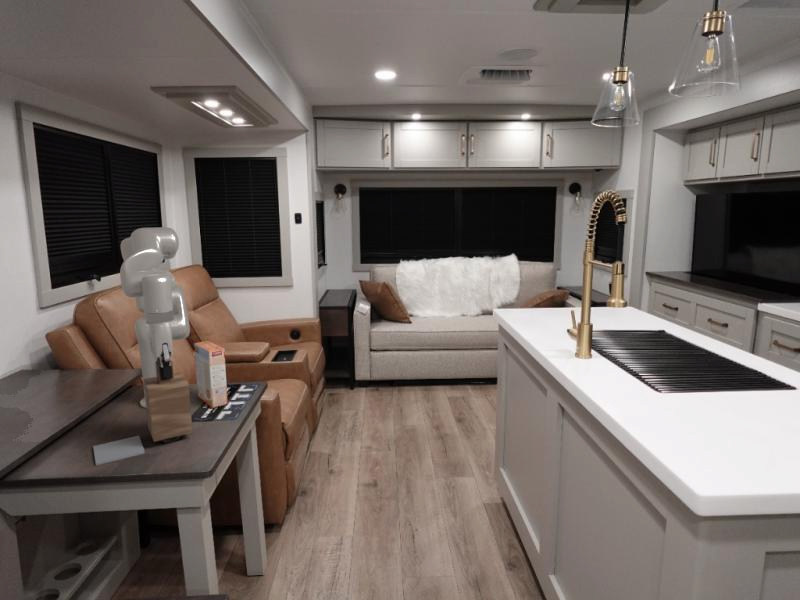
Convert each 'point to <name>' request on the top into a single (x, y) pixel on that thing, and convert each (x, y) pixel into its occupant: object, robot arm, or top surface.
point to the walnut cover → (167, 405)
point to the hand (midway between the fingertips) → (165, 376)
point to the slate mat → (118, 450)
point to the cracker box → (211, 373)
